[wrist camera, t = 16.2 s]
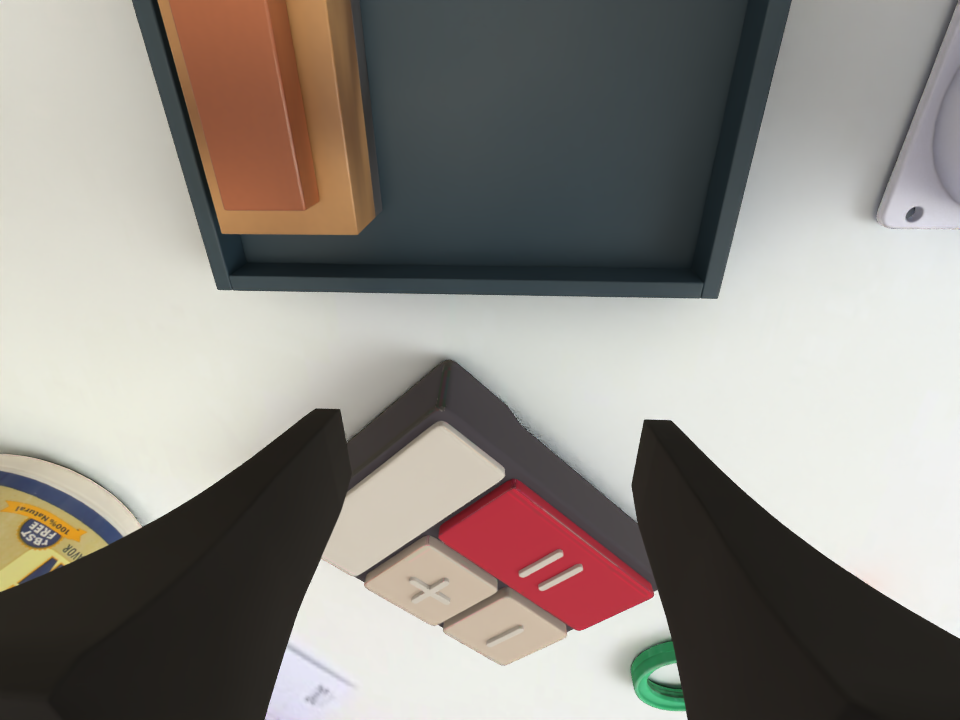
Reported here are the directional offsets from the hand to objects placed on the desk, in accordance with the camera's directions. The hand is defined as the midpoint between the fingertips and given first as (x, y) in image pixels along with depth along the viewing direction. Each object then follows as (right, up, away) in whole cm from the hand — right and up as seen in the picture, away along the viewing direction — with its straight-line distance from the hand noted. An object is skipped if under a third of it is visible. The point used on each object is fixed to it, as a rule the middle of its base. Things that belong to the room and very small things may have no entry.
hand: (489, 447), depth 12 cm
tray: (-1, +11, +5) cm, 12 cm away
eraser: (-6, +11, +4) cm, 13 cm away
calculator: (0, -5, +14) cm, 15 cm away
